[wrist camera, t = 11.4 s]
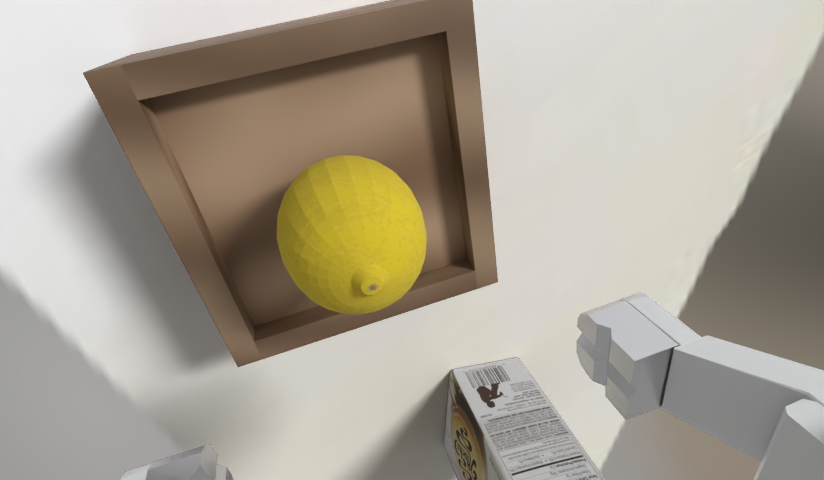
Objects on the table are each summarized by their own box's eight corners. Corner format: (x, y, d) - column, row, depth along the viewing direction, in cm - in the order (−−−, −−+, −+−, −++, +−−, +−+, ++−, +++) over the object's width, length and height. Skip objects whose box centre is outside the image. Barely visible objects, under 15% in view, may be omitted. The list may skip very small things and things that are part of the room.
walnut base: (131, 54, 20) (82, 72, 15) (423, -7, 22) (471, -10, 17) (243, 296, 27) (238, 367, 22) (456, 232, 29) (497, 281, 24)
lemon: (289, 256, 21) (300, 375, 14) (262, 143, 19) (258, 224, 12) (400, 233, 22) (458, 334, 16) (390, 124, 20) (454, 188, 13)
